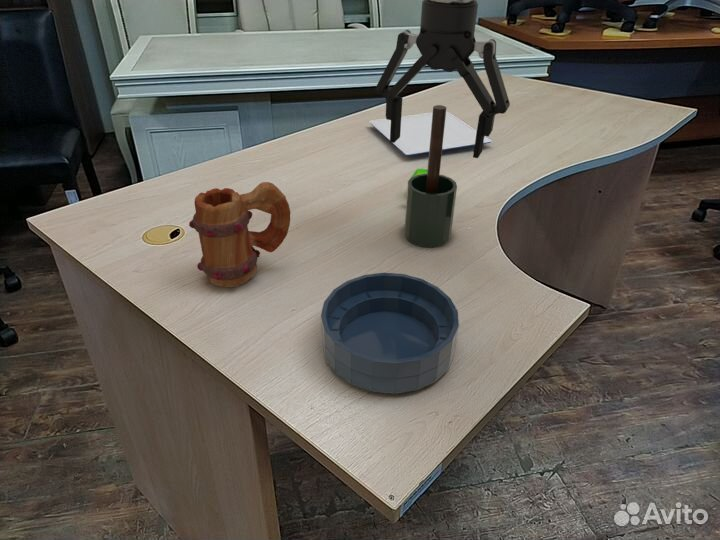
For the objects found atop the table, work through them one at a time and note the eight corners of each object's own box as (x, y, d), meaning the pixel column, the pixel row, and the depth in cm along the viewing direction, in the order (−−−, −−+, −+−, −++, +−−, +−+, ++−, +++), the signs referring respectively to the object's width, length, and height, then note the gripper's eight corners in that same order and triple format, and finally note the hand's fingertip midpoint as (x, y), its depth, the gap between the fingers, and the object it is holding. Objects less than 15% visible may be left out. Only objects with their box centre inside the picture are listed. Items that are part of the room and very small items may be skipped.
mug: (202, 298, 78) (184, 209, 69) (198, 268, 84) (180, 183, 75) (299, 281, 82) (293, 194, 73) (288, 253, 88) (281, 170, 79)
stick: (434, 230, 93) (448, 106, 80) (431, 235, 91) (444, 110, 79) (424, 227, 94) (435, 104, 81) (420, 232, 92) (431, 108, 79)
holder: (455, 229, 95) (462, 178, 89) (442, 252, 89) (448, 199, 83) (413, 220, 97) (417, 170, 91) (398, 241, 91) (401, 189, 85)
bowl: (467, 325, 74) (473, 292, 70) (429, 416, 61) (434, 381, 57) (355, 293, 79) (355, 261, 76) (299, 371, 67) (296, 336, 63)
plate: (491, 148, 124) (493, 140, 123) (405, 162, 118) (406, 153, 116) (445, 117, 141) (446, 109, 140) (368, 127, 135) (368, 120, 133)
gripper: (354, -6, 72) (353, 141, 85) (541, 11, 64) (509, 171, 77) (375, -14, 78) (371, 126, 90) (549, 1, 70) (519, 152, 82)
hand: (435, 147), depth 84 cm, fingers open, 13 cm apart
